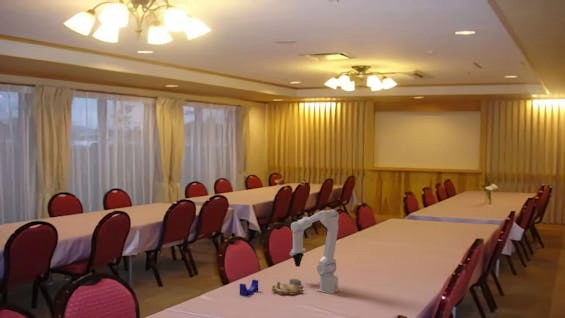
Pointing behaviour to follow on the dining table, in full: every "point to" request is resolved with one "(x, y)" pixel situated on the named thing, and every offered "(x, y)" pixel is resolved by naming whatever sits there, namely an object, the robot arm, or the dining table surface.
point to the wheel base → (289, 294)
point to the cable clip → (251, 290)
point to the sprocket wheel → (286, 288)
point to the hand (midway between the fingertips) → (297, 266)
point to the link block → (295, 282)
